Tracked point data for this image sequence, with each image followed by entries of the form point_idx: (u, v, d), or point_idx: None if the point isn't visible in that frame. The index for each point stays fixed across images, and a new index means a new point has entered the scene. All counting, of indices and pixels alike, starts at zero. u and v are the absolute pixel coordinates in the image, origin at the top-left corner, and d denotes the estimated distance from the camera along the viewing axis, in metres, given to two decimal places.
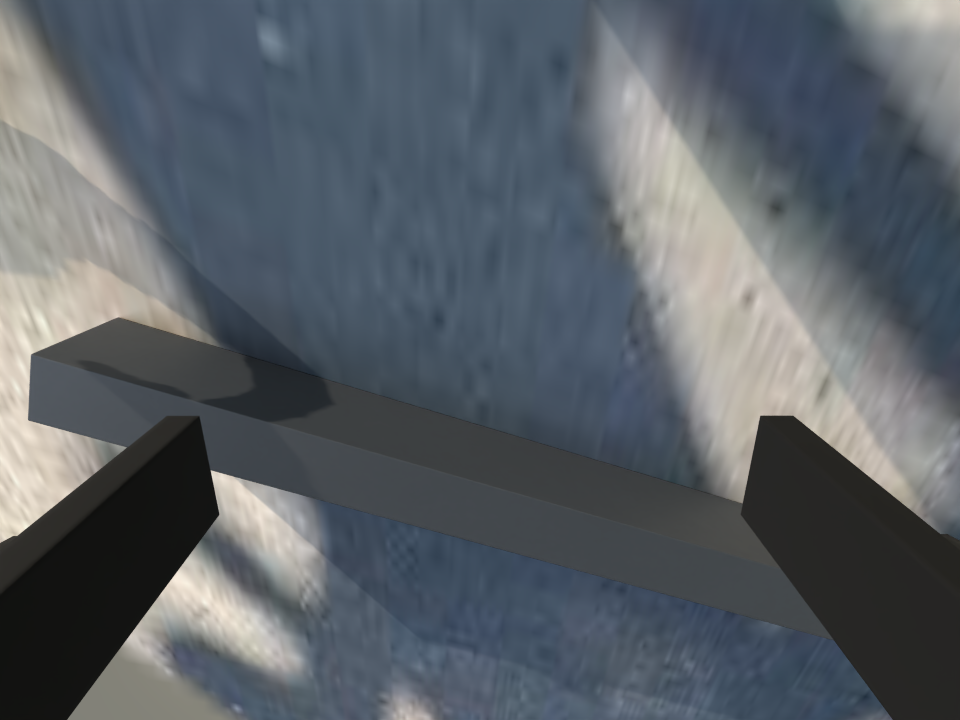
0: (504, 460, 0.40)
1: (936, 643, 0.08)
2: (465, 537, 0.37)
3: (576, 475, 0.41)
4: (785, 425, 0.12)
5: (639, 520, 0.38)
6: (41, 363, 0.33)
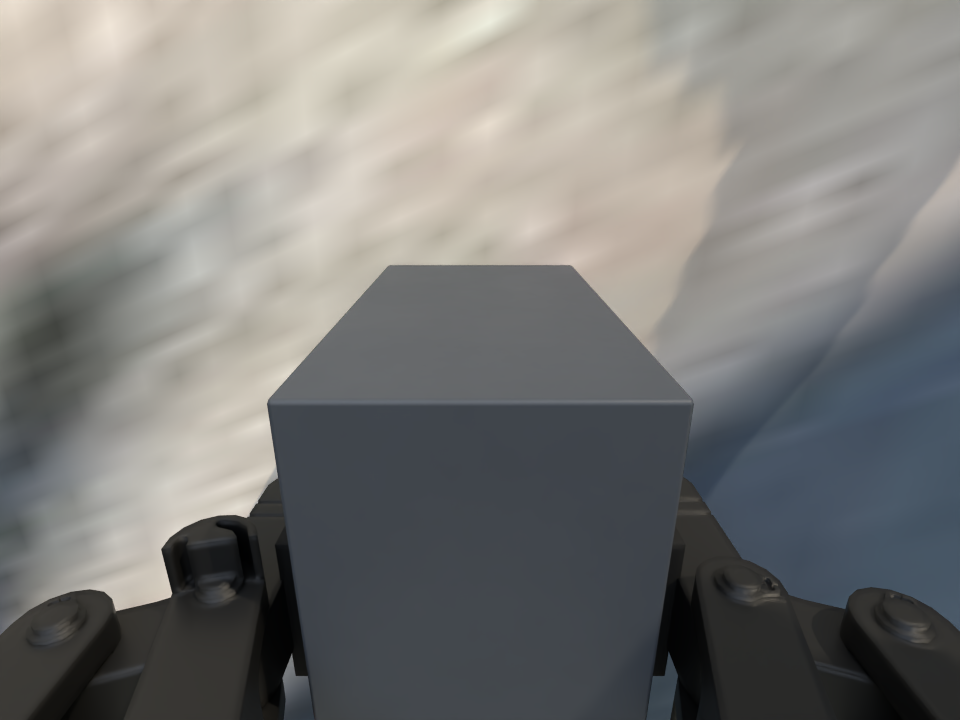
0: None
1: None
2: None
3: None
4: None
5: None
6: (652, 453, 0.06)
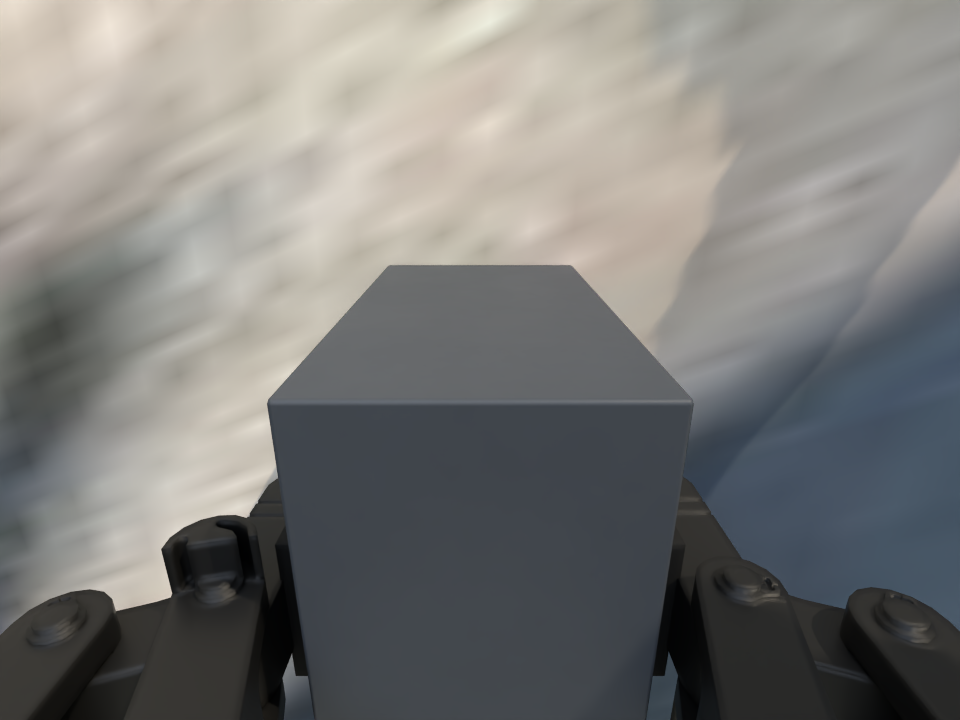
0: None
1: None
2: None
3: None
4: None
5: None
6: (653, 454, 0.06)
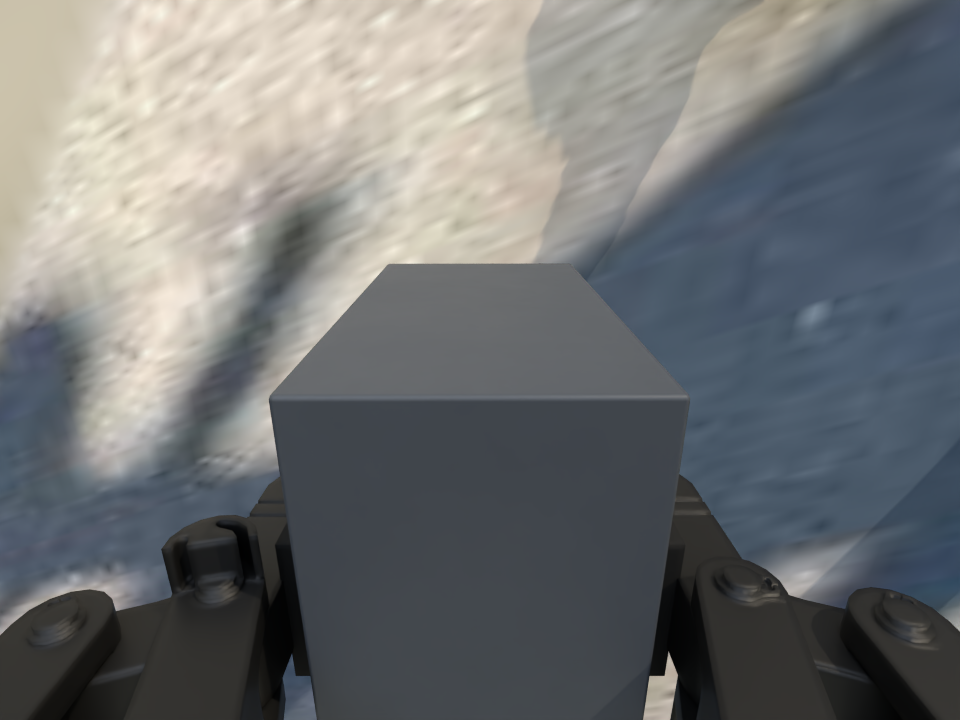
0: None
1: None
2: None
3: None
4: None
5: None
6: (650, 448, 0.06)
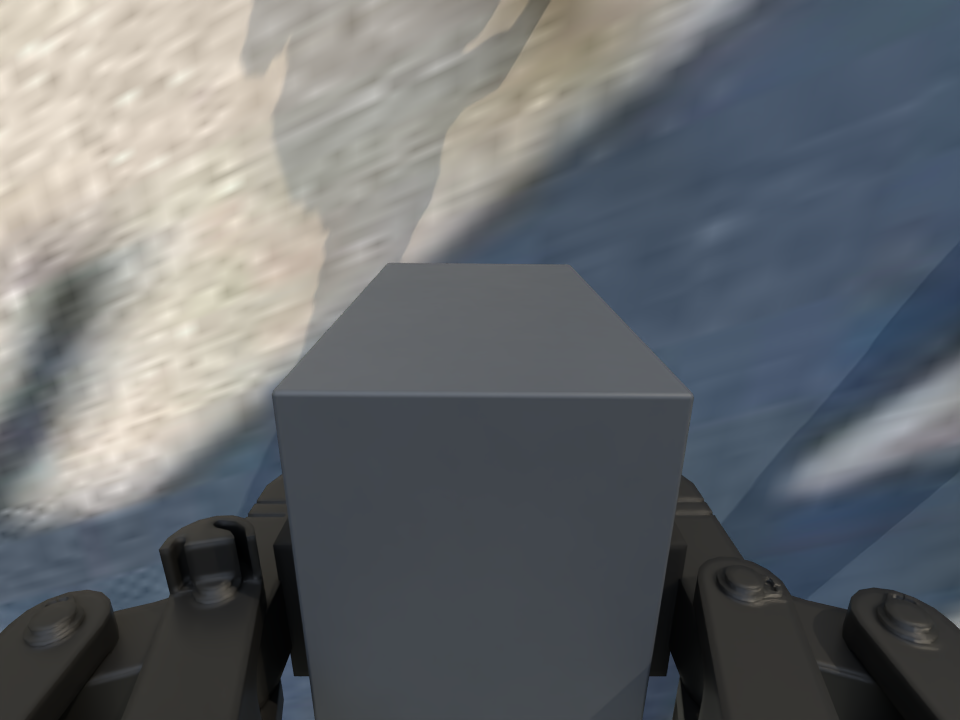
0: None
1: None
2: None
3: None
4: None
5: None
6: (653, 446, 0.06)
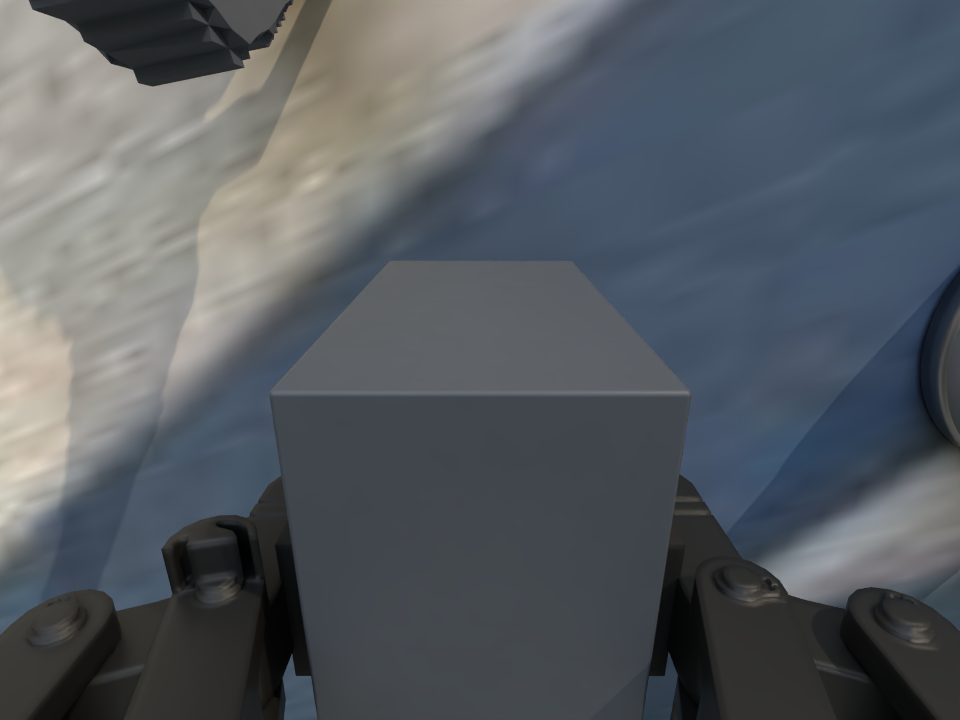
0: None
1: None
2: None
3: None
4: None
5: None
6: (650, 445, 0.06)
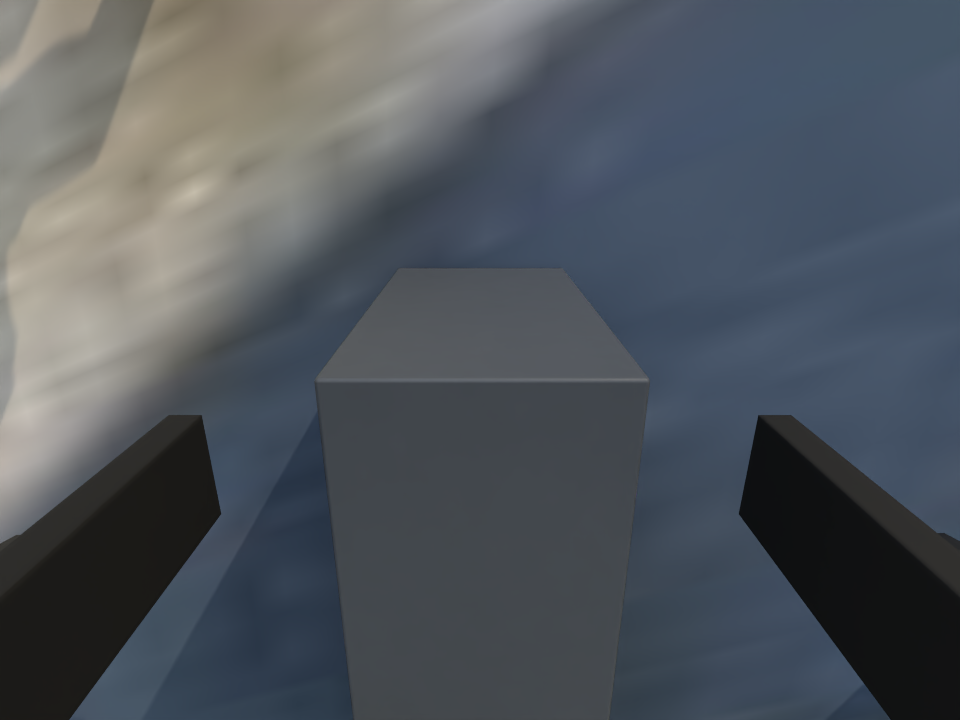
0: None
1: (933, 641, 0.08)
2: None
3: None
4: (783, 425, 0.12)
5: None
6: (618, 421, 0.08)
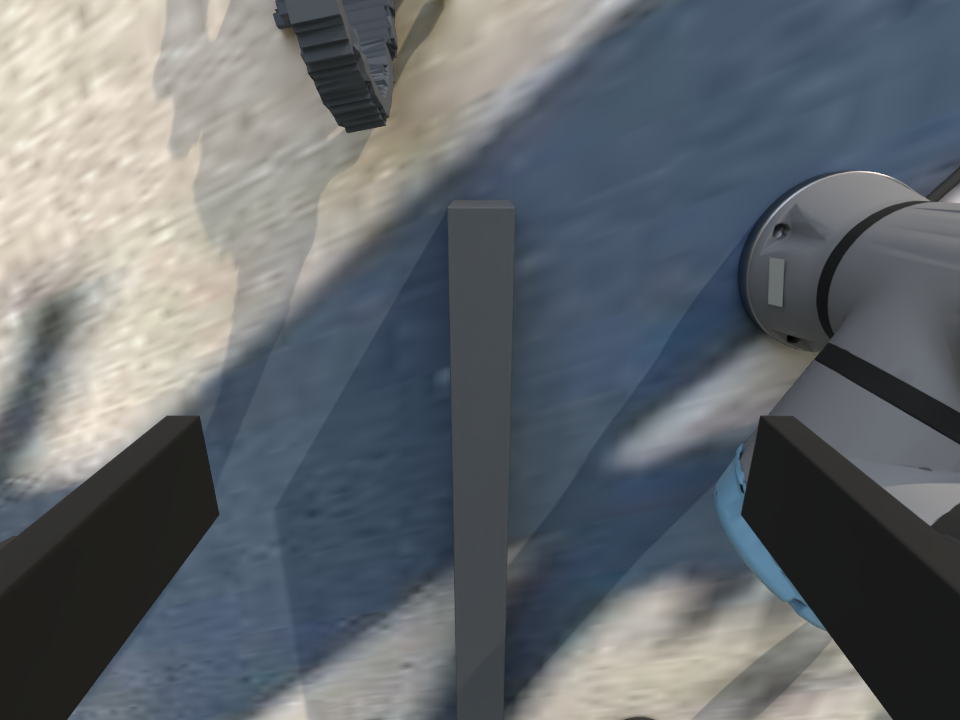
0: None
1: (936, 643, 0.08)
2: (456, 550, 0.47)
3: None
4: (785, 425, 0.12)
5: None
6: (509, 217, 0.37)
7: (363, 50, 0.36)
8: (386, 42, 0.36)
